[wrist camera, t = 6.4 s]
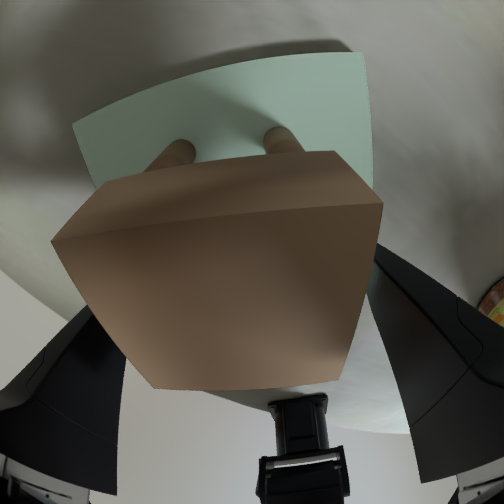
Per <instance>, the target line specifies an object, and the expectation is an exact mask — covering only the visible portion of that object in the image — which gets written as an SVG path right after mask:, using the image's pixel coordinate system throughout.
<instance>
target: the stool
mask: <svg viewBox="0 0 504 504" xmlns="http://www.w3.org/2000/svg"><path fill="white" fill-rule="evenodd" d="M263 143H264V148H265V153H266V154H264V155H254V156H244V157H235V158H227V159H220V160H212V161H205V162H199V163H193V162H194V160H195V158H196V150H195V147H194V145H193V144H192V143H191V142H189V141H188V140H185V139H178V140H175V141H173V142H172V143H171V144H170V145H168V146H167V147H166V148H165V150H164V151H163V152H162V153H161V154H160V155H159V156H158V157H157V158H156V159H155V160H154V161H153V162H152V163H151V164H150V165H149V166H148V167H147V168H146V169H145V170H144V172H143V173H139V174H135V175H130V176H126V177H122V178H117V179H113V180H109V181H106V182H105V183H104V184H103V185H102V186H101V187H100V188H99V189H98V190H97V191H96V192H95V193H94V194H93V195H92V196H91V197H90V198H89V199H88V200H87V201H86V202H85V203H84V204H83V205H82V206H81V207H80V208H79V209H78V210H77V212H76V213H75V214H74V215H73V216H72V217H71V218H70V219H69V220H68V221H67V223H66V224H65V225H64V226H63V227H62V228H61V229H60V231H59V232H58V233H57V234H56V235H55V237H54V238H53V239H52V240H51V243H52V245H53V247H54V249H55V251H56V253H57V255H58V257H59V258H60V260H61V262H62V264H63V266H64V267H65V269H66V271H67V273H68V274H69V276H70V278H71V279H72V281H73V283H74V284H75V286H76V288H77V289H78V291H79V292H80V294H81V296H82V297H83V299H84V300H85V302H86V303H87V305H88V306H89V308H90V309H91V311H92V312H93V314H94V315H95V316H96V318H97V319H98V321H99V322H100V324H101V325H102V326H103V328H104V329H105V330H106V332H107V333H108V334H109V336H110V337H111V338H112V340H113V341H114V342H115V344H116V345H117V346H118V347H119V349H120V350H121V351H122V352H123V354H124V355H125V356H126V357H127V358H128V360H129V361H130V362H131V363H132V365H133V366H134V367H135V368H136V369H137V370H138V372H140V374H141V375H142V376H143V377H144V378H145V379H146V381H147V382H148V383H149V384H150V385H151V386H152V387H153V388H155V389H170V390H196V391H198V390H200V391H227V390H253V389H269V388H281V387H291V386H300V385H308V384H315V383H322V382H329V381H335V380H339V378H340V375H341V372H342V369H343V367H344V364H345V361H346V358H347V355H348V352H349V349H350V346H351V343H352V340H353V337H354V333H355V330H356V327H357V323H358V320H359V316H360V313H361V309H362V306H363V302H364V298H365V294H366V290H367V286H368V282H369V278H370V273H371V269H372V264H373V260H374V255H375V250H376V245H377V240H378V234H379V229H380V223H381V217H382V210H383V202H382V200H381V199H380V198H379V197H378V196H377V195H376V194H375V192H374V191H373V190H372V189H371V188H370V187H369V186H368V185H367V184H366V182H365V181H364V180H363V179H362V178H361V177H360V176H359V175H358V174H357V173H356V172H355V171H354V170H353V169H352V168H351V167H350V166H349V164H348V163H347V162H346V161H345V160H344V159H343V158H342V157H341V156H340V155H339V154H338V153H337V152H336V151H335V150H330V151H305V150H304V148H303V147H302V146H301V144H300V143H299V141H298V140H297V139H296V137H295V136H294V135H293V133H292V132H291V131H290V130H289V129H287V128H285V127H282V126H276V127H273V128H271V129H269V130H268V131H267V132H266V134H265V135H264V139H263Z"/></svg>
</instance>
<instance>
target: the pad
mask: <svg viewBox="0 0 504 504" xmlns="http://www.w3.org/2000/svg"><path fill="white" fill-rule="evenodd" d="M71 125H72V128H73V131H74V134H75V136H76V139H77V142H78V145H79V148H80V150H81V153H82V156H83V158H84V161H85V163H86V166H87V168H88V171H89V173H90V176H91V178H92V180H93V183H94V185H95V188H96V190H98V189H99V188H100V187H101V186H102V185H103V184H104V183H105V182H106V181H109V180H113V179H117V178H122V177H126V176H130V175H135V174H139V173H143V172H144V170H145V169H146V168H147V167H148V166H149V165H150V164H151V163H152V162H153V161H154V160H155V159H156V158H157V157H158V156H159V155H160V154H161V153H162V152H163V151H164V150H165V148H166V147H167V146H168V145H170V144H171V143H172V142H173V141H175V140H178V139H185V140H188V141H189V142H191V143H192V144H193V145H194V147H195V150H196V158H195V160H194V162H193V163H199V162H205V161H212V160H220V159H227V158H235V157H244V156H254V155H264V154H266V153H265V148H264V143H263V139H264V135H265V134H266V132H267V131H268V130H269V129H271V128H273V127H276V126H282V127H285V128H287V129H289V130H290V131H291V132H292V133H293V135H294V136H295V137H296V139H297V140H298V141H299V143H300V144H301V146H302V147H303V148H304V150H305V151H330V150H335V151H336V152H337V153H338V154H339V155H340V156H341V157H342V158H343V159H344V160H345V161H346V162H347V163H348V164H349V166H350V167H351V168H352V169H353V170H354V171H355V172H356V173H357V174H358V175H359V176H360V177H361V178H362V179H363V180H364V181H365V182H366V184H367V185H368V186H369V187H370V188H371V189H372V190H373V156H372V131H371V116H370V104H369V94H368V85H367V77H366V69H365V63H364V56H363V52H327V53H308V54H296V55H286V56H278V57H270V58H264V59H257V60H251V61H246V62H240V63H235V64H231V65H226V66H221V67H217V68H213V69H209V70H205V71H201V72H198V73H194V74H191V75H187V76H184V77H180V78H177V79H174V80H171V81H168V82H165V83H162V84H159V85H156V86H154V87H151V88H148V89H145V90H143V91H140V92H138V93H135V94H133V95H130V96H128V97H126V98H123V99H121V100H119V101H116V102H114V103H112V104H110V105H108V106H105V107H103V108H101V109H99V110H97V111H95V112H93V113H91V114H89V115H87V116H85V117H83V118H81V119H80V120H78V121H76V122H74V123H72V124H71Z"/></svg>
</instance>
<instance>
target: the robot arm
mask: <svg viewBox="0 0 504 504" xmlns="http://www.w3.org/2000/svg"><path fill="white" fill-rule="evenodd" d="M366 292H367V296H368V300H369V304H370V307H371V311H372V314H373V316H374V319H375V322H376V324H377V327H378V330H379V332H380V335H381V338H382V341H383V343H384V346H385V349H386V352H387V355H388V358H389V361H390V364H391V367H392V370H393V373H394V376H395V379H396V382H397V386H398V389H399V392H400V395H401V399H402V402H403V406H404V409H405V413H406V417H407V421H408V424H409V428H410V433H411V437H412V441H413V446H414V450H415V455H416V459H417V465H418V470H419V475H420V480H421V483H426V482H431V481H435V480H439V479H443V478H446V477H450V476H453V475H456V476H457V481H458V487H457V489H456V491H455V493H454V494H453V496H452V497H451V499H450V501H449V502H448V504H504V327H502V326H501V325H499V324H498V323H496V322H495V321H493V320H492V319H490V318H489V317H487V316H486V315H484V314H483V313H481V312H480V311H478V310H477V309H475V308H474V307H473V306H471V305H470V304H468V303H467V302H466V301H464V300H463V299H461V298H460V297H459V296H458V297H457V295H456V294H454V293H453V292H452V291H450V290H449V289H447V288H446V287H444V286H443V285H442V284H440V283H439V282H437V281H436V280H434V279H433V278H431V277H430V276H428V275H427V274H425V273H424V272H422V271H421V270H419V269H418V268H416V267H415V266H413V265H412V264H410V263H409V262H407V261H406V260H404V259H402V258H401V257H399V256H398V255H396V254H395V253H393V252H391V251H390V250H388V249H387V248H385V247H383V246H382V245H380V244H378V243H377V245H376V250H375V255H374V260H373V264H372V269H371V273H370V278H369V282H368V286H367V290H366ZM126 358H127V357H126V356H125V355H124V354H123V352H122V351H121V350H120V349H119V347H118V346H117V345H116V344H115V342H114V341H113V340H112V338H111V337H110V336H109V334H108V333H107V332H106V330H105V329H104V328H103V326H102V325H101V324H100V322H99V321H98V319H97V318H96V316H95V315H94V314H93V312H92V311H91V309H90V308H89V306H88V305H86V306H85V307H84V308H83V309H82V310H81V311H80V312H79V313H78V314H77V315H76V316H75V317H74V318H73V319H72V320H71V321H70V322H68V323H67V325H66V326H64V328H63V329H61V331H60V332H59V333H58V334H57V335H56V336H55V337H54V338H53V339H52V340H51V341H50V342H49V343H48V344H47V345H46V346H45V347H44V348H43V349H42V350H41V351H40V352H39V353H38V354H37V356H36V357H35V358H34V359H33V360H32V361H31V362H30V363H29V364H28V365H27V366H26V367H25V368H24V369H23V370H22V371H21V372H20V373H19V374H18V375H17V376H16V377H15V378H14V379H13V380H12V381H11V382H10V383H9V384H8V385H7V386H6V387H5V388H3V389H2V390H0V504H91V503H90V501H89V495H90V490H94V491H98V492H102V493H106V494H110V495H117V445H118V426H119V414H120V404H121V394H122V386H123V377H124V371H125V364H126ZM327 403H328V396H327V395H321V396H315V397H309V398H302V399H296V400H288V401H280V402H272V403H268V409H269V411H270V413H271V415H272V417H273V419H274V421H275V428H276V444H277V456H271V457H267V456H262V458H261V459H259V475H258V481H257V487H256V495H257V496H258V497H259V498H260V501H261V504H344V497H347V496H350V485H349V477H348V471H347V465H346V460H345V454H344V449H343V445H341V446H338V447H335V448H330V449H329V441H328V434H327V427H326V420H325V414H326V411H327ZM334 457H337V460H334V461H333V460H330V461H325V462H319V463H313V464H306V465H298V466H290V467H280V468H274V466H277V465H287V464H296V463H304V462H310V461H317V460H322V459H328V458H334ZM337 468H338V469H337Z"/></svg>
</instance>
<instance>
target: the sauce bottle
mask: <svg viewBox="0 0 504 504" xmlns="http://www.w3.org/2000/svg"><path fill="white" fill-rule="evenodd" d="M477 310H478V311H480V312H481V313H483V314H484V315H486V316H487V317H489V318H490V319H492V320H493V321H495V322H496V323H498V324H499V325H501V326H502V327H504V279H502V280H501V281H500V282H498V283H497V284H496V285H494V286H493V287H492V288H491V290H490V291H489V292H488V294H487V295H486V296H485V297H484V299H483V300H482V302H481V303H480V305H479V308H478V309H477Z"/></svg>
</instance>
